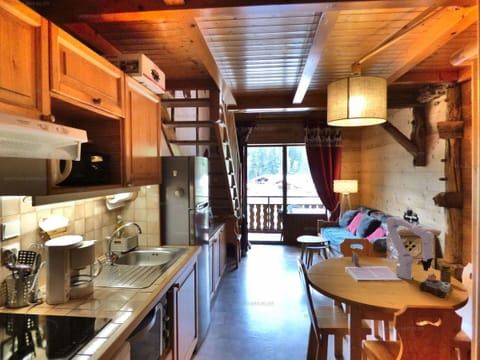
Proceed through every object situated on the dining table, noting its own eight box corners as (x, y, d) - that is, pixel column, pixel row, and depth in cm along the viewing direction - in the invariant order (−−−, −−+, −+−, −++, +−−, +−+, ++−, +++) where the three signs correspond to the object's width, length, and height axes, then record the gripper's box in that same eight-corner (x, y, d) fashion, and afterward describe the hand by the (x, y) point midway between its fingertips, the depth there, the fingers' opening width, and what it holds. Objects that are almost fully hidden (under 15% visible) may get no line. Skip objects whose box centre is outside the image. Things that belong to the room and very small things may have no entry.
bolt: (444, 301, 184) (420, 291, 198) (449, 296, 186) (425, 286, 200) (441, 294, 183) (417, 284, 196) (446, 288, 184) (422, 279, 198)
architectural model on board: (351, 261, 260) (351, 250, 260) (354, 261, 260) (354, 250, 260) (354, 265, 249) (354, 253, 249) (358, 265, 249) (358, 253, 248)
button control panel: (422, 287, 201) (422, 281, 201) (425, 282, 211) (425, 276, 210) (447, 292, 192) (447, 286, 192) (450, 287, 201) (450, 281, 201)
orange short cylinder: (428, 283, 201) (428, 273, 201) (427, 281, 205) (428, 272, 205) (436, 284, 199) (436, 275, 199) (435, 282, 203) (435, 273, 203)
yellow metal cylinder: (453, 283, 209) (453, 266, 208) (447, 286, 204) (448, 268, 204) (441, 280, 215) (442, 263, 214) (435, 282, 210) (436, 265, 210)
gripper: (432, 252, 199) (431, 273, 199) (436, 248, 210) (435, 268, 210) (419, 250, 203) (419, 271, 204) (424, 246, 214) (423, 266, 215)
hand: (426, 269), depth 207 cm, fingers open, 7 cm apart
